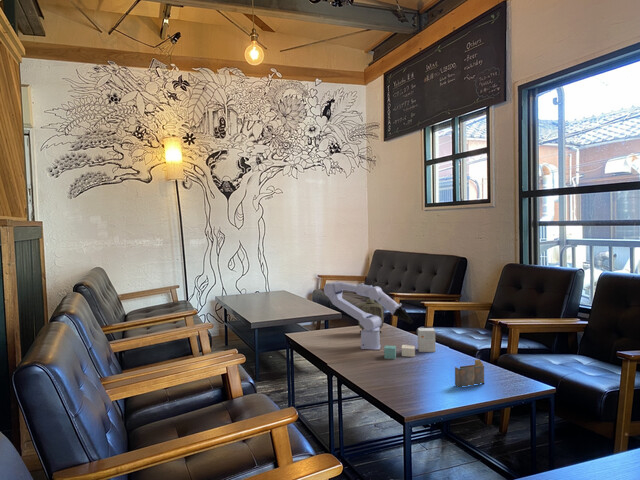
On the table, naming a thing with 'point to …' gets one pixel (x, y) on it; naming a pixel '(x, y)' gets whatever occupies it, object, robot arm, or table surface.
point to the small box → (426, 340)
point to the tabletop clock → (372, 310)
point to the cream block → (408, 350)
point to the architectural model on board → (469, 374)
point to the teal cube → (389, 352)
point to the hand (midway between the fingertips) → (410, 321)
